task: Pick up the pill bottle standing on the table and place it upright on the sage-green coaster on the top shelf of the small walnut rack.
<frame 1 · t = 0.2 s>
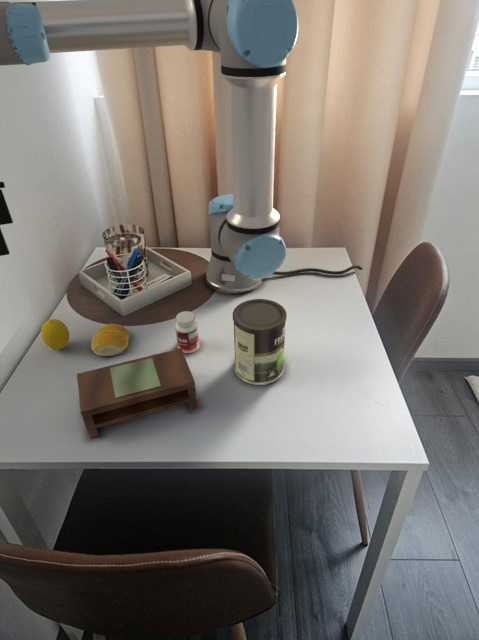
hand: (3, 238, 81), 28 cm above the table, tool pointing down, fingers open, 13 cm apart
rack: (140, 403, 86), on the table
lemon: (60, 349, 99), on the table
coffee can: (258, 368, 93), on the table
pill bottle: (188, 347, 99), on the table
bread roll: (112, 345, 100), on the table
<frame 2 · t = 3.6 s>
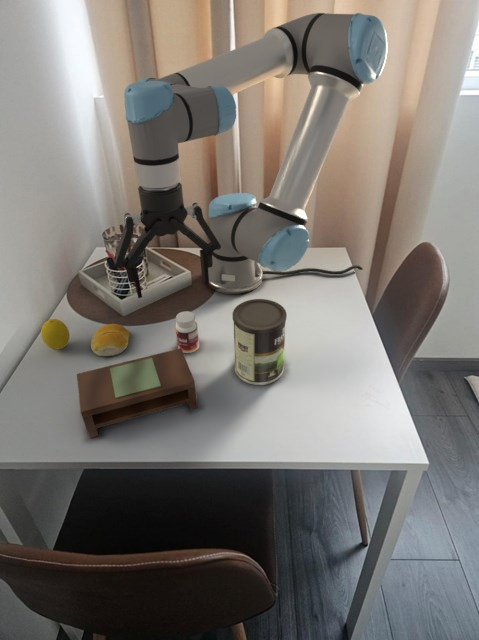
hand: (173, 287, 89), 16 cm above the table, tool pointing down, fingers open, 13 cm apart
nothing on the table moved.
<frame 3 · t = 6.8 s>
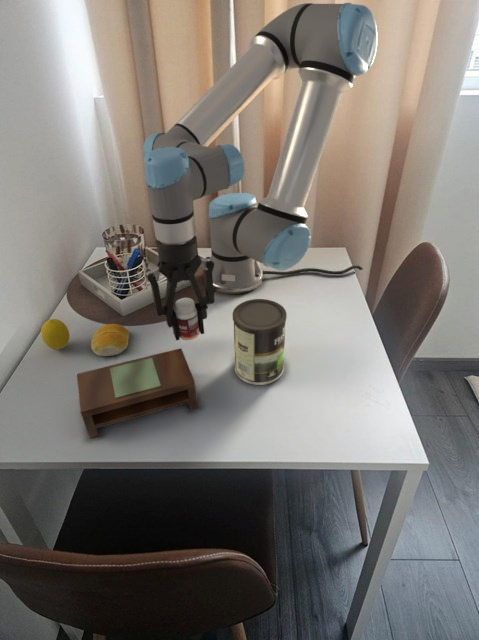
hand: (188, 333, 97), 4 cm above the table, tool pointing down, fingers closed on pill bottle, 5 cm apart
pill bottle: (189, 334, 97), point 3 cm above the table, touching gripper
everything else where it was.
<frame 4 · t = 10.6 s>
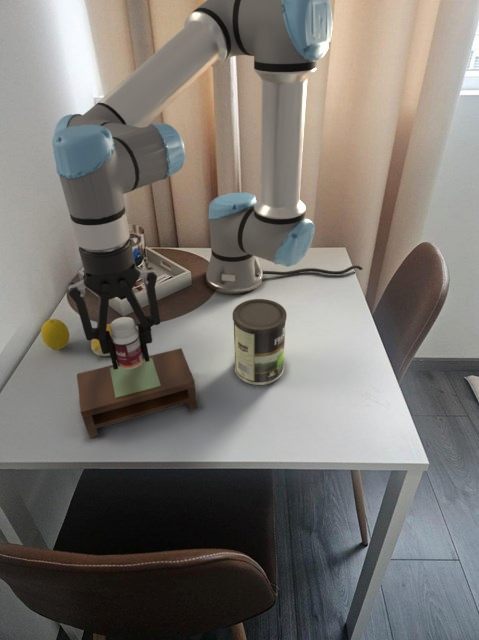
hand: (130, 360, 79), 11 cm above the table, tool pointing down, fingers closed on pill bottle, 5 cm apart
pill bottle: (131, 362, 79), point 11 cm above the table, touching gripper
everything else where it was.
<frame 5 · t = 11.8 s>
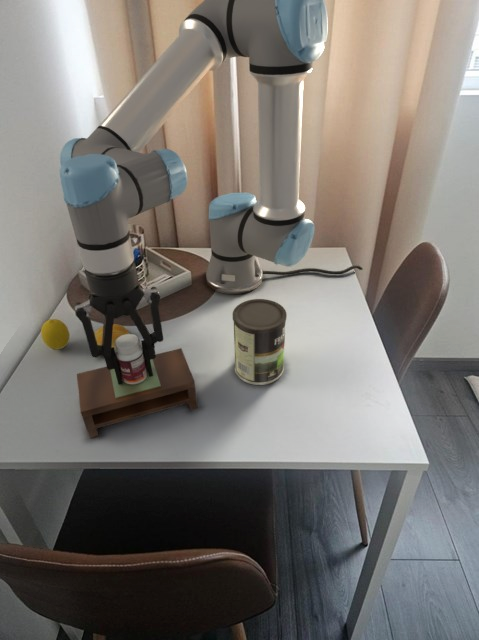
hand: (134, 375, 81), 8 cm above the table, tool pointing down, fingers closed on pill bottle, 5 cm apart
pill bottle: (135, 376, 81), point 7 cm above the table, touching gripper
everything else where it was.
when the fingers open (8 cm above the table, at t = 14.6 s): pill bottle stays where it is, resting on rack.
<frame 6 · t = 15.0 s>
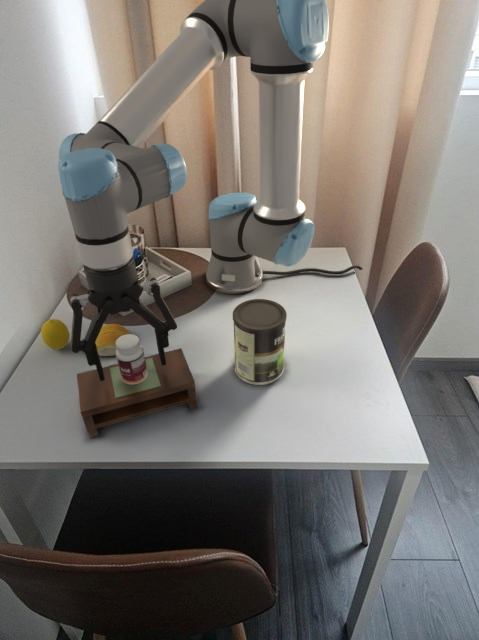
hand: (132, 367, 80), 9 cm above the table, tool pointing down, fingers open, 10 cm apart
pill bottle: (135, 377, 81), point 7 cm above the table, touching rack
everything else where it was.
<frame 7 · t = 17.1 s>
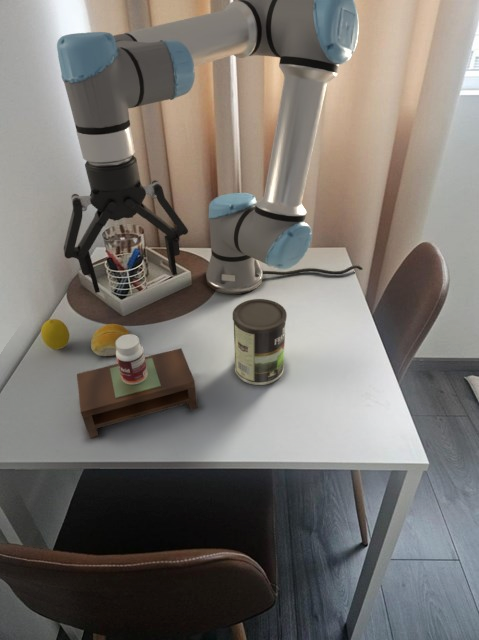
hand: (135, 279, 78), 23 cm above the table, tool pointing down, fingers open, 13 cm apart
nothing on the table moved.
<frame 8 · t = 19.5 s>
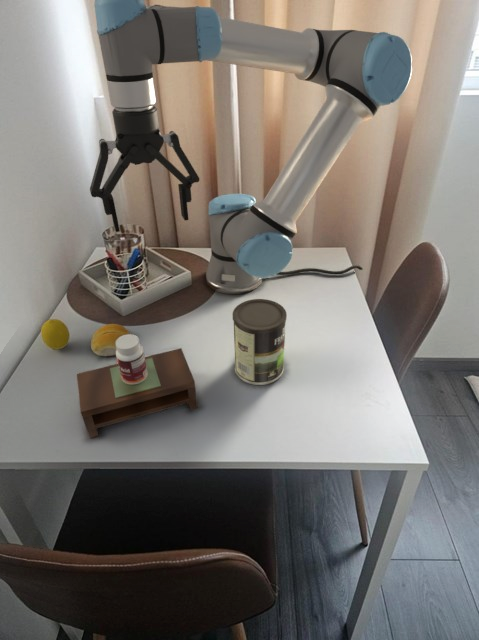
hand: (151, 223, 88), 27 cm above the table, tool pointing down, fingers open, 13 cm apart
nothing on the table moved.
at the end: pill bottle inside the target area on the rack (0.1 cm from its centre), point 7.0 cm above the rack's base; pill bottle tilted 0°; the gripper is holding nothing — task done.
